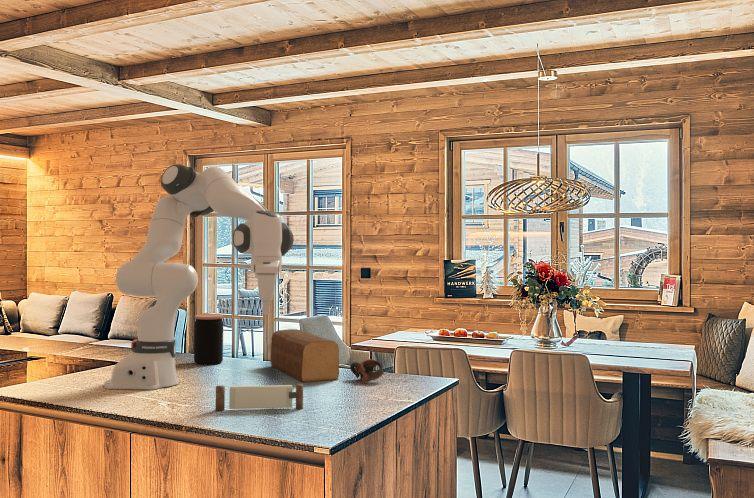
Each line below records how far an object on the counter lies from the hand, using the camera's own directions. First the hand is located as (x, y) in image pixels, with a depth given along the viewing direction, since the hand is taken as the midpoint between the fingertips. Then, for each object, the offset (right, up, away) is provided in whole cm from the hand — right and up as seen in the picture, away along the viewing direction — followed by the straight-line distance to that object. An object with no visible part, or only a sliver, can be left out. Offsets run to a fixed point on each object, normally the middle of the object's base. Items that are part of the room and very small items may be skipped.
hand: (265, 314), depth 204 cm
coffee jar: (-31, -25, +62) cm, 74 cm away
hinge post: (-10, -25, -13) cm, 30 cm away
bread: (+6, -25, +45) cm, 52 cm away
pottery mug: (+29, -26, +33) cm, 51 cm away
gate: (0, -25, -11) cm, 27 cm away
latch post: (+10, -25, -10) cm, 29 cm away
